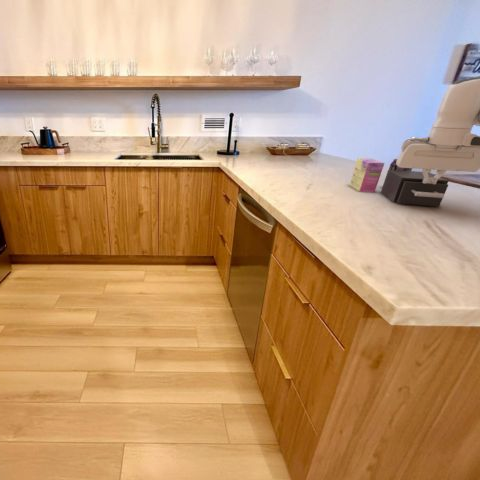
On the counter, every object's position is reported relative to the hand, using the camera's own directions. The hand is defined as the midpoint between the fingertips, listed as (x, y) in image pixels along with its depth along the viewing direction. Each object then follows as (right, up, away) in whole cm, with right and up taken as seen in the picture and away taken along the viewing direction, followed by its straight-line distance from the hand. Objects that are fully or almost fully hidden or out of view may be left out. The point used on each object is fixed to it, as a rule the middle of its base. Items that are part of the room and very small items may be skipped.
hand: (428, 183), depth 92 cm
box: (-3, +3, +26) cm, 27 cm away
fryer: (+4, -3, +13) cm, 14 cm away
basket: (+2, -5, +8) cm, 10 cm away
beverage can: (+9, +2, +26) cm, 28 cm away
